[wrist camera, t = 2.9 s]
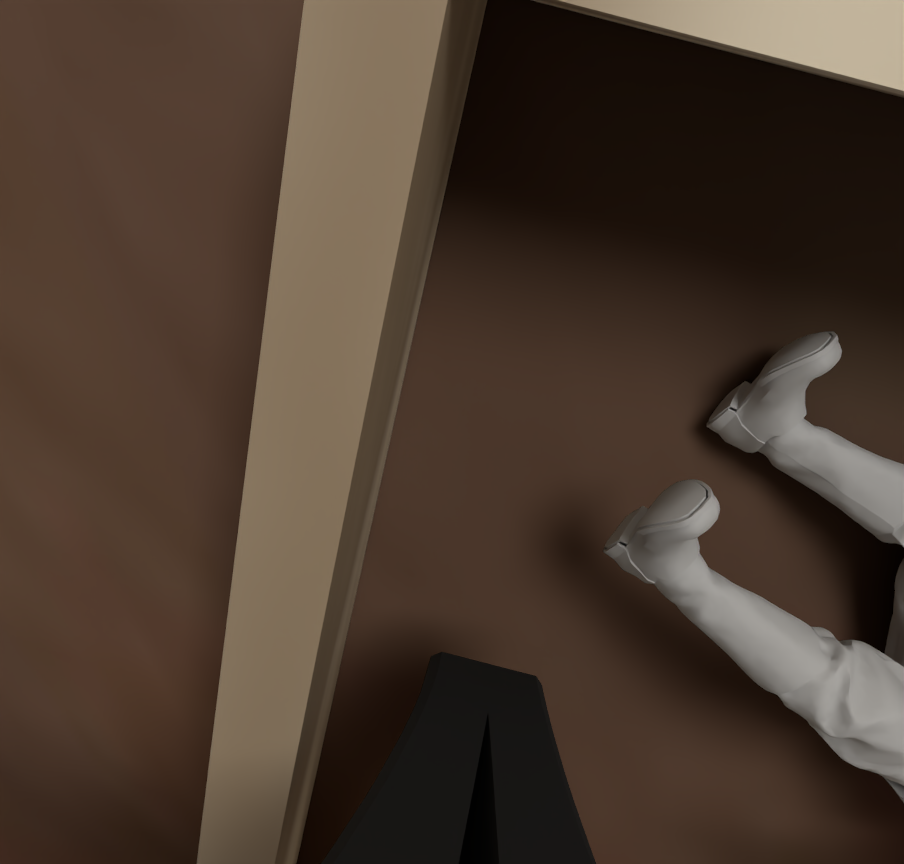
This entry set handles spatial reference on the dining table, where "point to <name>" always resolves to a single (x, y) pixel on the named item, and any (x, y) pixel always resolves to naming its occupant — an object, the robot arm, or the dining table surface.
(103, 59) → the dining table surface
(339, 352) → the beech frame
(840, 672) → the soldier figure
